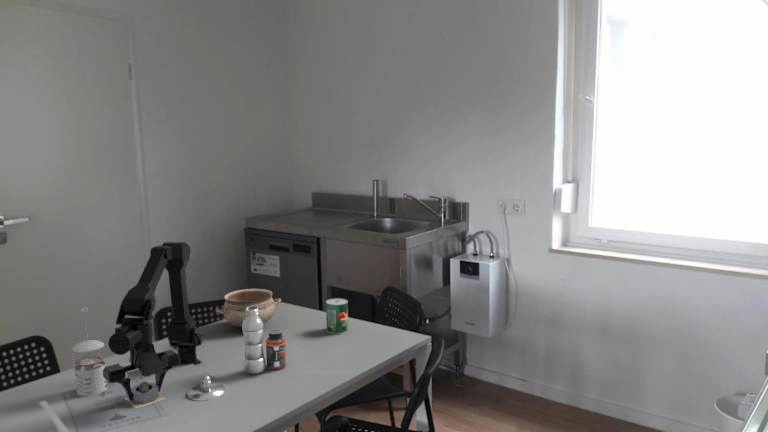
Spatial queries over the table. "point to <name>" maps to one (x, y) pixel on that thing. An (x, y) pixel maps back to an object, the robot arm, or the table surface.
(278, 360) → the supplement bottle
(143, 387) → the stand
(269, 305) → the cooking pot
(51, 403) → the table surface
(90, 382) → the french press
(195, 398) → the disc
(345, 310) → the canned tomato
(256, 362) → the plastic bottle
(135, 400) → the collar
